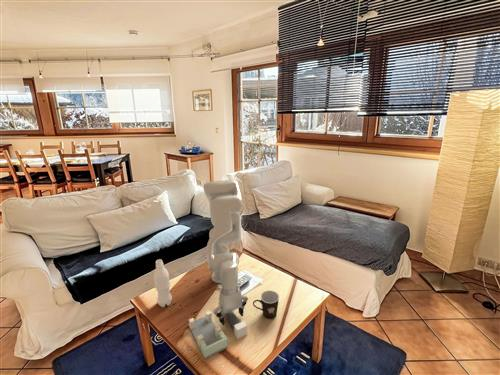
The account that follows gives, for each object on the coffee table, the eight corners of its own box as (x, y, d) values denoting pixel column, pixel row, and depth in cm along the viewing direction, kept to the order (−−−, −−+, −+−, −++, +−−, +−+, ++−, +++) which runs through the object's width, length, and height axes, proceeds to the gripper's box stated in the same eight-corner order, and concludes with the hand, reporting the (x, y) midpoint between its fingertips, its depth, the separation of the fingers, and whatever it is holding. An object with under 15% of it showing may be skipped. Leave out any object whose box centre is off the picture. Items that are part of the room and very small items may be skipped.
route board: (208, 316, 128) (208, 307, 126) (227, 347, 111) (226, 338, 110) (188, 325, 123) (187, 316, 121) (204, 359, 106) (203, 349, 105)
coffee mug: (280, 309, 131) (280, 292, 128) (276, 322, 123) (276, 305, 120) (257, 304, 135) (257, 287, 131) (252, 316, 127) (252, 299, 124)
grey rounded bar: (219, 311, 131) (218, 303, 129) (227, 307, 133) (227, 299, 132) (237, 339, 115) (237, 330, 114) (247, 334, 118) (246, 325, 116)
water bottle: (159, 310, 132) (152, 266, 124) (156, 301, 138) (150, 259, 130) (173, 305, 135) (168, 262, 127) (170, 296, 141) (165, 255, 134)
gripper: (242, 276, 126) (244, 306, 131) (208, 290, 118) (211, 321, 123) (251, 285, 120) (251, 316, 125) (215, 300, 112) (218, 332, 117)
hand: (231, 318), depth 124 cm, fingers open, 9 cm apart
